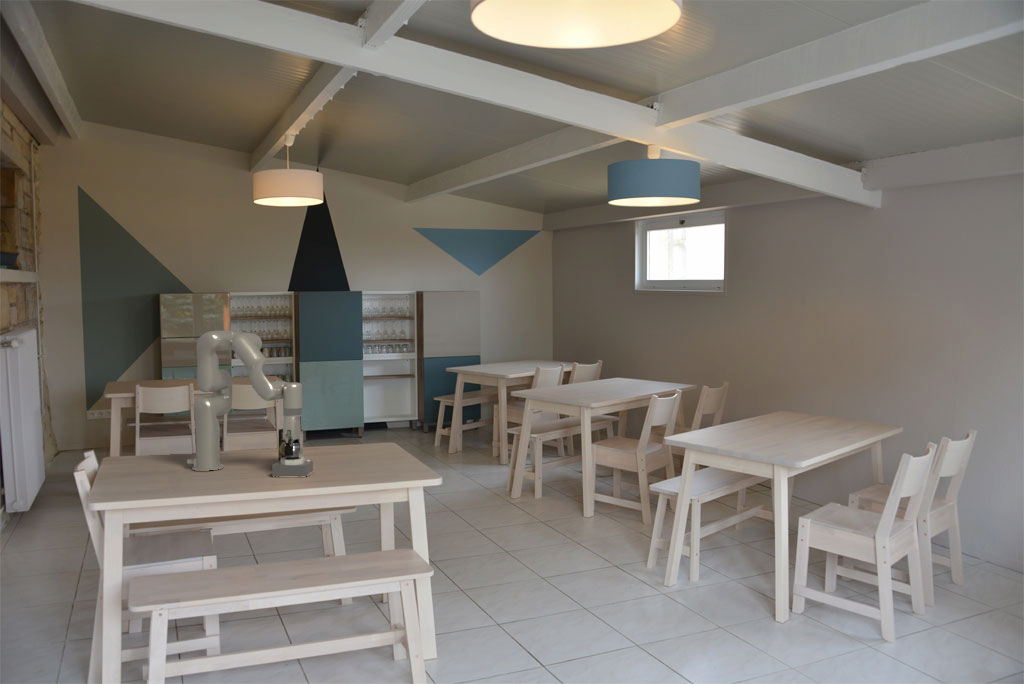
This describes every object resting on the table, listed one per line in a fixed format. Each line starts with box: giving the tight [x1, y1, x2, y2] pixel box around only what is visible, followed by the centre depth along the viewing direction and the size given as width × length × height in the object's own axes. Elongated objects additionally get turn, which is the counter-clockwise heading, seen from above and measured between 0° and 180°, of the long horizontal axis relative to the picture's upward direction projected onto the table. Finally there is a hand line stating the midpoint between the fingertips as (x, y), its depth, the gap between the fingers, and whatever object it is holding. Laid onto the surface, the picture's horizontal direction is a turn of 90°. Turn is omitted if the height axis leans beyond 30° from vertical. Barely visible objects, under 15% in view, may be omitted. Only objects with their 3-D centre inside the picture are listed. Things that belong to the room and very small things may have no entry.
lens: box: [286, 443, 299, 460], centre depth 314 cm, size 5×5×8 cm
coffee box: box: [278, 428, 304, 461], centre depth 335 cm, size 9×6×16 cm
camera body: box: [271, 456, 314, 477], centre depth 314 cm, size 14×10×7 cm
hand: (292, 453), depth 314 cm, fingers open, 9 cm apart
